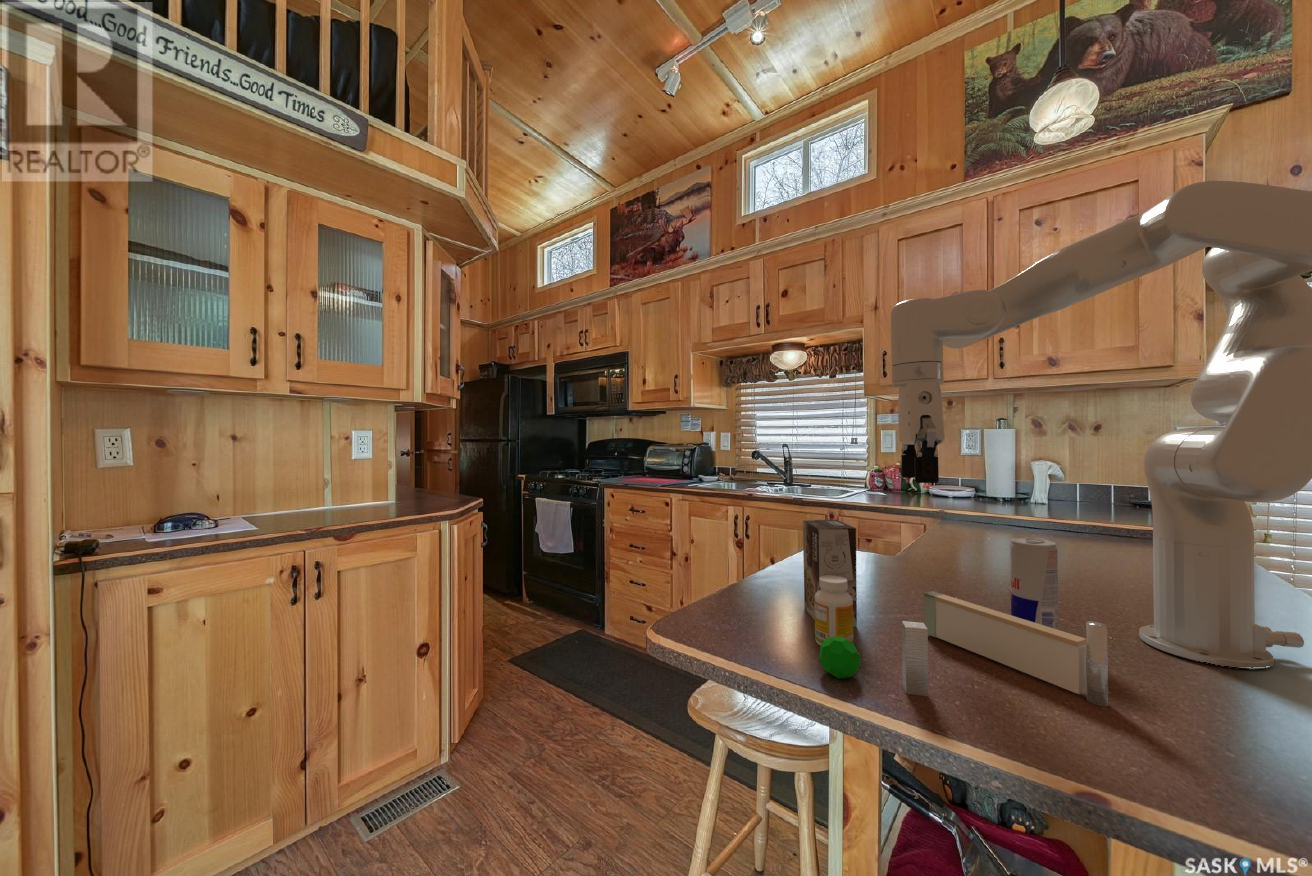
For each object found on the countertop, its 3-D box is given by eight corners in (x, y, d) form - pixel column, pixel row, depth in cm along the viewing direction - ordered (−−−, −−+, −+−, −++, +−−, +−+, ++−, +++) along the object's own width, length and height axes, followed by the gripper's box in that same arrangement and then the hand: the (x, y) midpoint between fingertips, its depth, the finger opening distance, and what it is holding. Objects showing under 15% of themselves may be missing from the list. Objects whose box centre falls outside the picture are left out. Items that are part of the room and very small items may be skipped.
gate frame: (1099, 698, 57) (1098, 621, 57) (1115, 709, 54) (1114, 628, 54) (900, 685, 60) (899, 612, 60) (907, 695, 58) (906, 619, 58)
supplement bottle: (854, 639, 74) (853, 575, 74) (852, 654, 69) (851, 586, 69) (817, 634, 76) (816, 572, 76) (812, 647, 71) (812, 581, 71)
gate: (1087, 691, 57) (1086, 638, 57) (1077, 694, 57) (1077, 641, 57) (933, 630, 75) (932, 591, 75) (924, 632, 75) (923, 592, 75)
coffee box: (858, 627, 78) (857, 528, 78) (818, 627, 78) (817, 528, 78) (838, 607, 87) (837, 518, 87) (802, 607, 87) (801, 518, 87)
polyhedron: (831, 663, 66) (831, 628, 66) (867, 676, 62) (866, 639, 62) (812, 675, 63) (811, 638, 63) (848, 689, 59) (847, 650, 59)
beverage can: (1048, 634, 74) (1047, 537, 74) (1065, 650, 69) (1064, 545, 69) (1005, 630, 76) (1004, 535, 76) (1019, 645, 71) (1018, 543, 71)
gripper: (959, 367, 70) (962, 485, 70) (928, 380, 87) (930, 476, 87) (903, 370, 72) (905, 485, 72) (883, 382, 89) (884, 475, 89)
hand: (918, 480), depth 79 cm, fingers open, 9 cm apart
